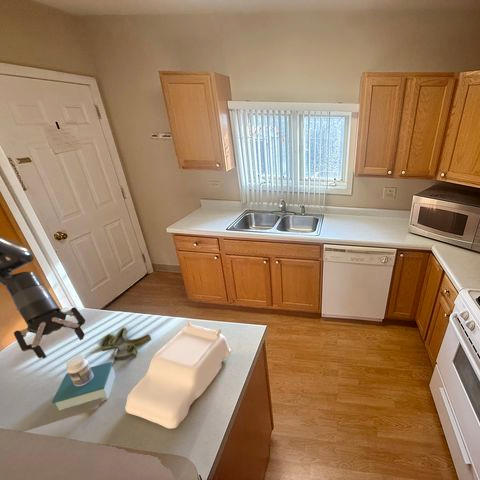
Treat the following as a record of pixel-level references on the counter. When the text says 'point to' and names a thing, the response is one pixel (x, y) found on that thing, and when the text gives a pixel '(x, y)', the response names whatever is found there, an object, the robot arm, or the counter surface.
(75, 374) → the pill bottle
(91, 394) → the teal book
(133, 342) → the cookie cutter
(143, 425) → the counter surface
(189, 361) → the white toy car
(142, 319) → the counter surface
